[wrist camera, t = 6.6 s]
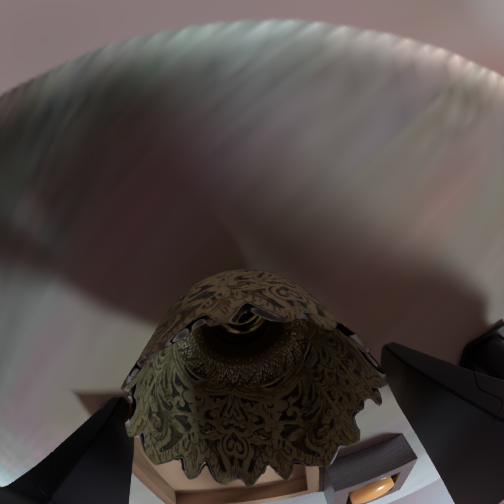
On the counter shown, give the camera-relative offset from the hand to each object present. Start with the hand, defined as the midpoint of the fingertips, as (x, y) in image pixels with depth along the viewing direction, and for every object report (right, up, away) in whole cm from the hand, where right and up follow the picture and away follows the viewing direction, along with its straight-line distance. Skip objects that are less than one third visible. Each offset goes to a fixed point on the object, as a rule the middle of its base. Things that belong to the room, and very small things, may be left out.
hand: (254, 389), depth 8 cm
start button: (+11, -18, +11) cm, 24 cm away
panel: (+11, -17, +12) cm, 24 cm away
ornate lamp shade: (-1, +2, +6) cm, 6 cm away
